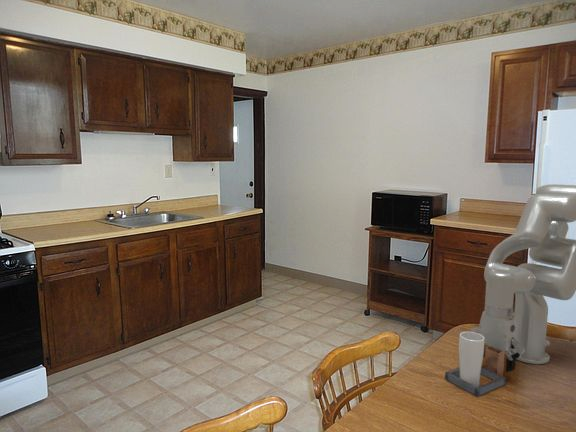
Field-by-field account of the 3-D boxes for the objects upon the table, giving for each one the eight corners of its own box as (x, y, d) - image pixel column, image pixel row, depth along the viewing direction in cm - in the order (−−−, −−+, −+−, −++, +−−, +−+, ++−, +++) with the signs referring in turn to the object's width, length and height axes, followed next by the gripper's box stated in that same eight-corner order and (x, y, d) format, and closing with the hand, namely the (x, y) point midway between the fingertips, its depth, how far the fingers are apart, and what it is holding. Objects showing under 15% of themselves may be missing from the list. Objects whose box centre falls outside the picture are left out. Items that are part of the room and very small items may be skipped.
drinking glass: (484, 392, 117) (487, 342, 115) (458, 389, 119) (461, 339, 117) (479, 380, 124) (482, 332, 122) (455, 377, 125) (457, 330, 124)
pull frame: (481, 365, 133) (482, 341, 132) (514, 380, 123) (515, 355, 122) (445, 378, 124) (446, 353, 123) (477, 396, 115) (479, 369, 114)
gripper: (534, 317, 119) (529, 373, 121) (480, 300, 134) (477, 350, 136) (518, 322, 115) (514, 380, 118) (465, 304, 130) (462, 355, 133)
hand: (494, 364), depth 127 cm, fingers open, 9 cm apart
